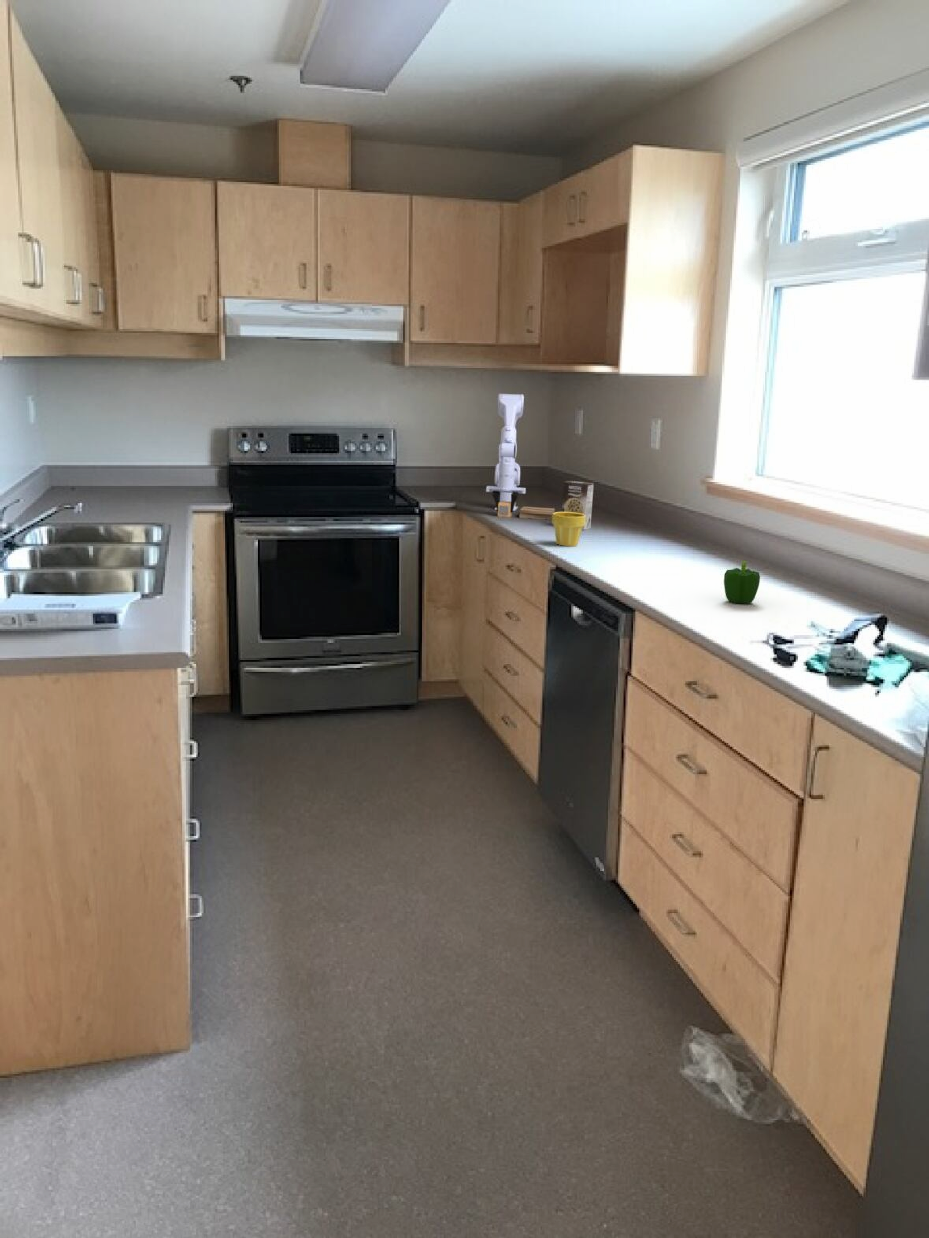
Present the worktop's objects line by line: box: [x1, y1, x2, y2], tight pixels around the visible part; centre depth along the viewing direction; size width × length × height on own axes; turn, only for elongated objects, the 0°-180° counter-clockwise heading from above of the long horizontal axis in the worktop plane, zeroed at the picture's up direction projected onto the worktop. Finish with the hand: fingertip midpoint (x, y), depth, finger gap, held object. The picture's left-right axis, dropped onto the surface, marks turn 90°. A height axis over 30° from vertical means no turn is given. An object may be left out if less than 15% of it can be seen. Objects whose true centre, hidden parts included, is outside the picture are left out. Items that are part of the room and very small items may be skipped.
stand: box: [519, 506, 556, 521], centre depth 373 cm, size 10×12×3 cm
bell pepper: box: [723, 560, 761, 605], centre depth 244 cm, size 8×8×10 cm
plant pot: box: [551, 511, 585, 547], centre depth 316 cm, size 10×10×10 cm
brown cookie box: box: [561, 480, 595, 531], centre depth 349 cm, size 9×6×16 cm
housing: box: [497, 501, 513, 518], centre depth 374 cm, size 6×4×5 cm
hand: (504, 511), depth 374 cm, fingers closed on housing, 4 cm apart
